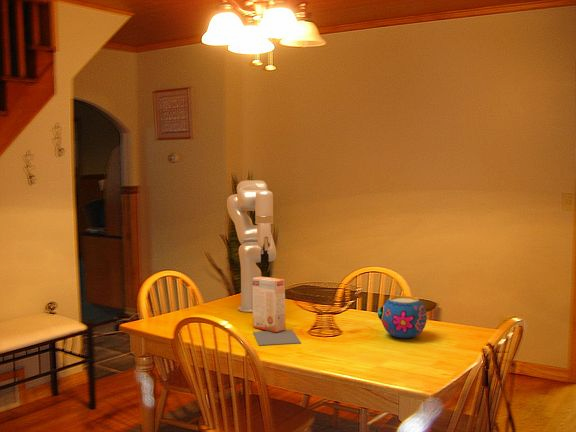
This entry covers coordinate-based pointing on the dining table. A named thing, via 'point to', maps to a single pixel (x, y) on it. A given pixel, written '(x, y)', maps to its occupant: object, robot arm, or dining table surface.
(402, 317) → the ceramic pot
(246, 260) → the robot arm
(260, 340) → the mat
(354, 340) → the dining table surface
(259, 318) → the cracker box
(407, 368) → the dining table surface
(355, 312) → the dining table surface
